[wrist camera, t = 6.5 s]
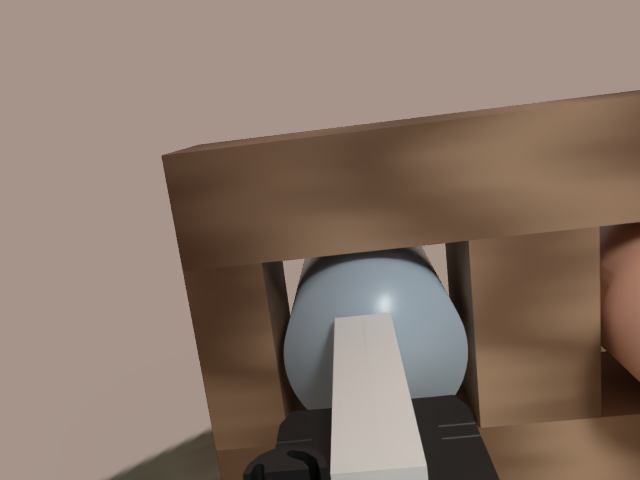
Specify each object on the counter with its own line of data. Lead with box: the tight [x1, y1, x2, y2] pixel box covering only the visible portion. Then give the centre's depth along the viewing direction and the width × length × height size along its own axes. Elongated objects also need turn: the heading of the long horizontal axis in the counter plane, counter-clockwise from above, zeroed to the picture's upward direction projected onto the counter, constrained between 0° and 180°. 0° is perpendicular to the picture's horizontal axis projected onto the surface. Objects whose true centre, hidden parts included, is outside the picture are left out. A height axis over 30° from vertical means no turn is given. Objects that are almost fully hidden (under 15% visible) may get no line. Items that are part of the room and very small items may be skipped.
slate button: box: [284, 246, 468, 410], centre depth 20 cm, size 5×9×5 cm, turn 178°
